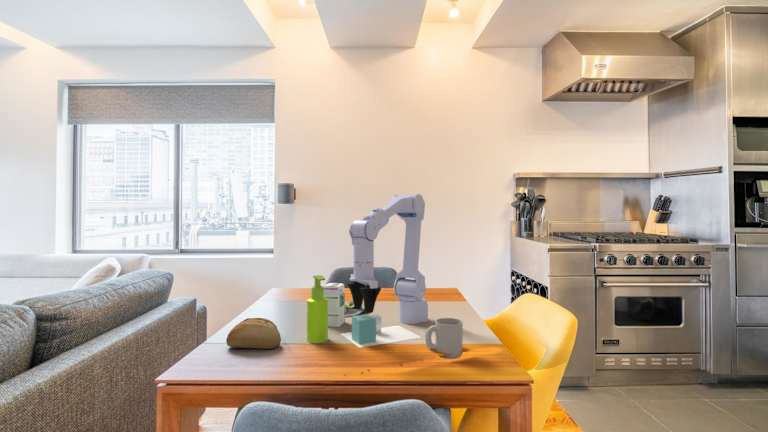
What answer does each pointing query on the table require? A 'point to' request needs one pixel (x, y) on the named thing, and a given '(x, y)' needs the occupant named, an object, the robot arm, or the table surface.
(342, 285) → the syrup box
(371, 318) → the teal rectangular block
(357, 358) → the table surface
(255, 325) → the bread roll
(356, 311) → the salad plate
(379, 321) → the steel post
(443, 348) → the cup
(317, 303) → the soap dispenser
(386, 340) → the post board
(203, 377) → the table surface
